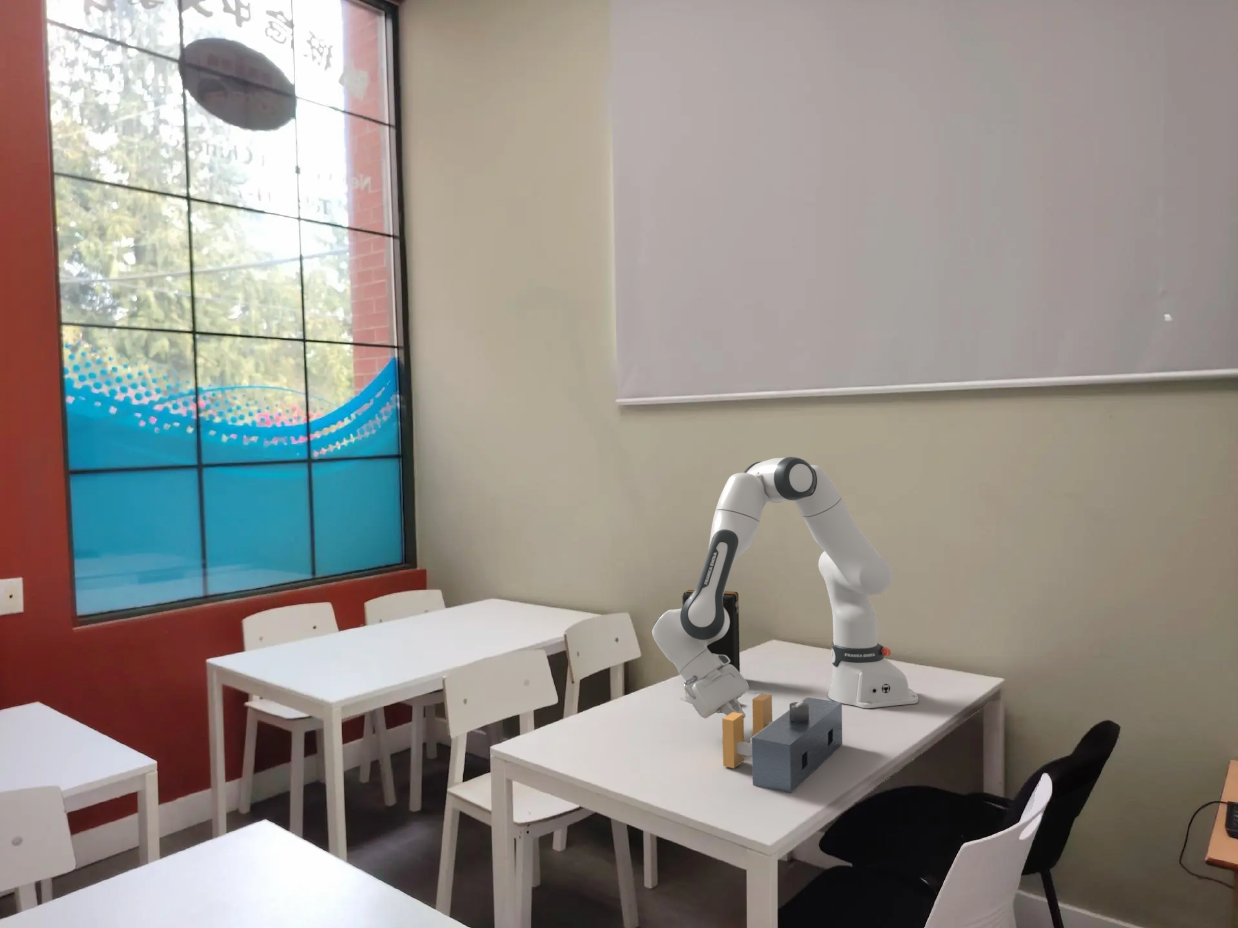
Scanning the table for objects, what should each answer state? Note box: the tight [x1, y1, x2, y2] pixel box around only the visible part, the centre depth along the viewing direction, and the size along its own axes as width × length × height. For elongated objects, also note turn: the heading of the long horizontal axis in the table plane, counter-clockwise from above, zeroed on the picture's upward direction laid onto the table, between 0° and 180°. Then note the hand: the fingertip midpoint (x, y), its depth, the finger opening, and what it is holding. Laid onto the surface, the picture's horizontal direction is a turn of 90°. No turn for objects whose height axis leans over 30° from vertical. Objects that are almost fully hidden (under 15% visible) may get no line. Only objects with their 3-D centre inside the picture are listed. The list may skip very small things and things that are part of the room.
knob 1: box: [721, 712, 752, 769], centre depth 181 cm, size 14×5×10 cm, turn 57°
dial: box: [788, 700, 809, 722], centre depth 184 cm, size 4×4×3 cm
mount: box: [749, 697, 843, 794], centre depth 185 cm, size 8×30×10 cm, turn 147°
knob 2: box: [751, 693, 774, 737], centre depth 194 cm, size 14×5×10 cm, turn 57°
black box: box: [681, 589, 741, 674], centre depth 247 cm, size 16×9×25 cm, turn 71°
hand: (741, 719), depth 200 cm, fingers closed
